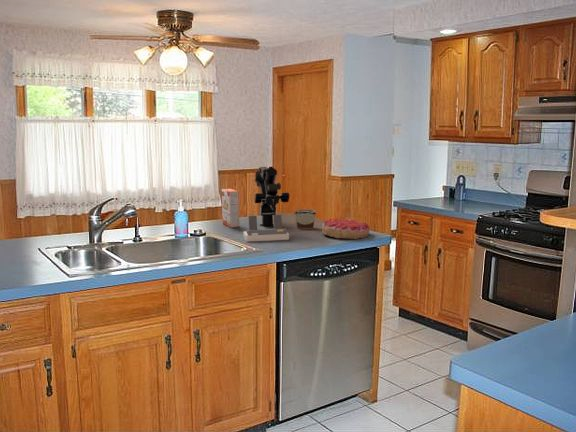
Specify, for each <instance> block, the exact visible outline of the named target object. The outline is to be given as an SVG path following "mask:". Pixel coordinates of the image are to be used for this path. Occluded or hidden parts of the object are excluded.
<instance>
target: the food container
mask: <svg viewBox="0 0 576 432" xmlns="http://www.w3.org/2000/svg"><path fill="white" fill-rule="evenodd" d="M294 215H295V223H296V229H304V230H305V229H314V227H315V218H316V215H317V213H316V210H315V209H297V210H296V209H295V211H294Z"/></svg>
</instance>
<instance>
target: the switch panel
mask: <svg viewBox="0 0 576 432" xmlns="http://www.w3.org/2000/svg"><path fill="white" fill-rule="evenodd" d="M242 236H243V237H242V238H243V239H244V241H245V242H265V241H268V242H269V241H288V240H290V234H289V232H288V228H284V227H282V229H274V228H271V229H259V228H257V230H249V229H246V231H245V230H244V231H243V235H242Z"/></svg>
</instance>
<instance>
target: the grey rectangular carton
mask: <svg viewBox="0 0 576 432" xmlns="http://www.w3.org/2000/svg"><path fill="white" fill-rule="evenodd" d="M282 221H283V220H282V214H276V215H273V224H274V226H273V229H283V222H282Z"/></svg>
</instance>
